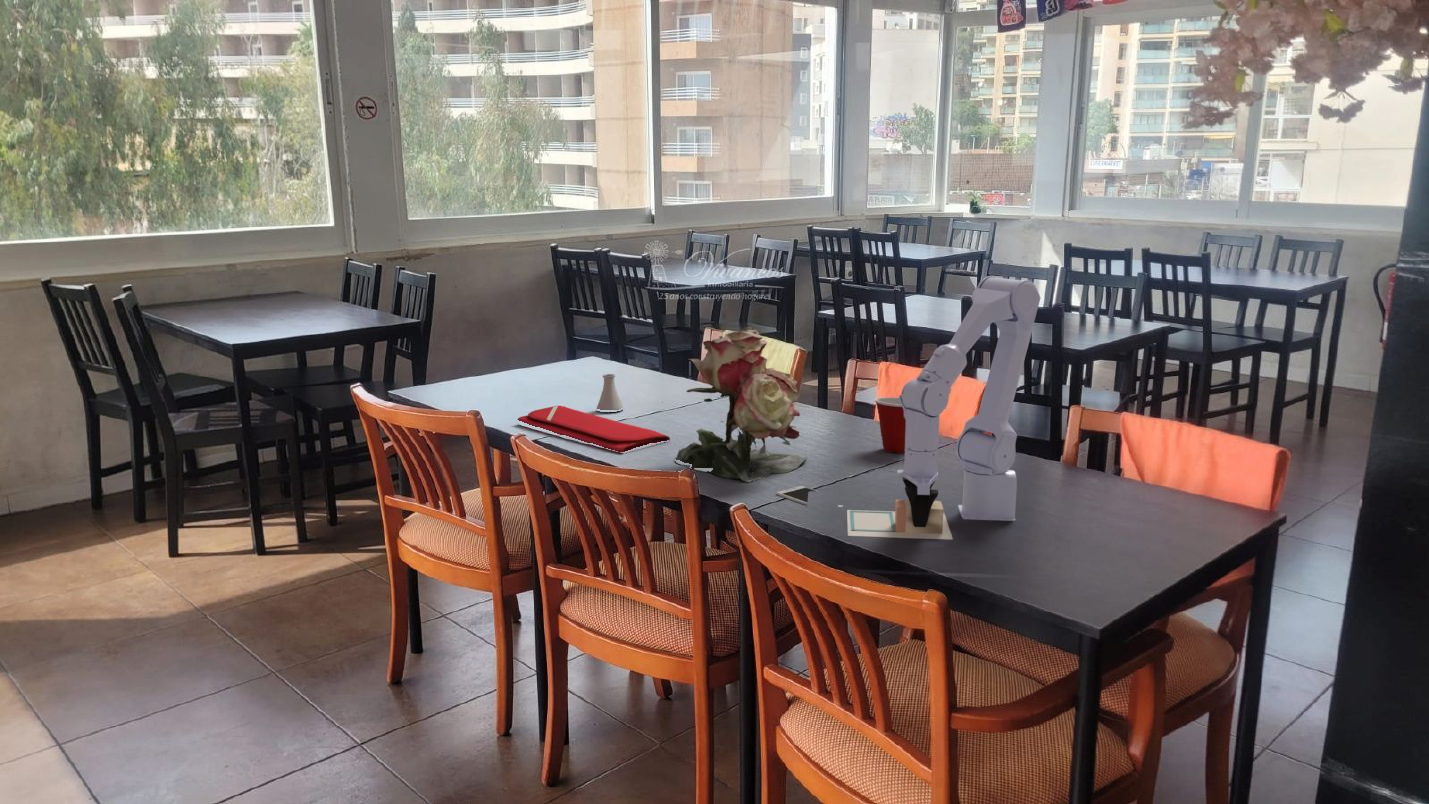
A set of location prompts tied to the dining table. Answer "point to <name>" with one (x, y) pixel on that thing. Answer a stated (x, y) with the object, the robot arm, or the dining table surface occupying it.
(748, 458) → the rose bouquet
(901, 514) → the block
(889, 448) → the plastic cup
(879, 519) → the mat
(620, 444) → the dish drying mat
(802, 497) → the smartphone
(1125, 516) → the dining table surface
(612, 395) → the flask
